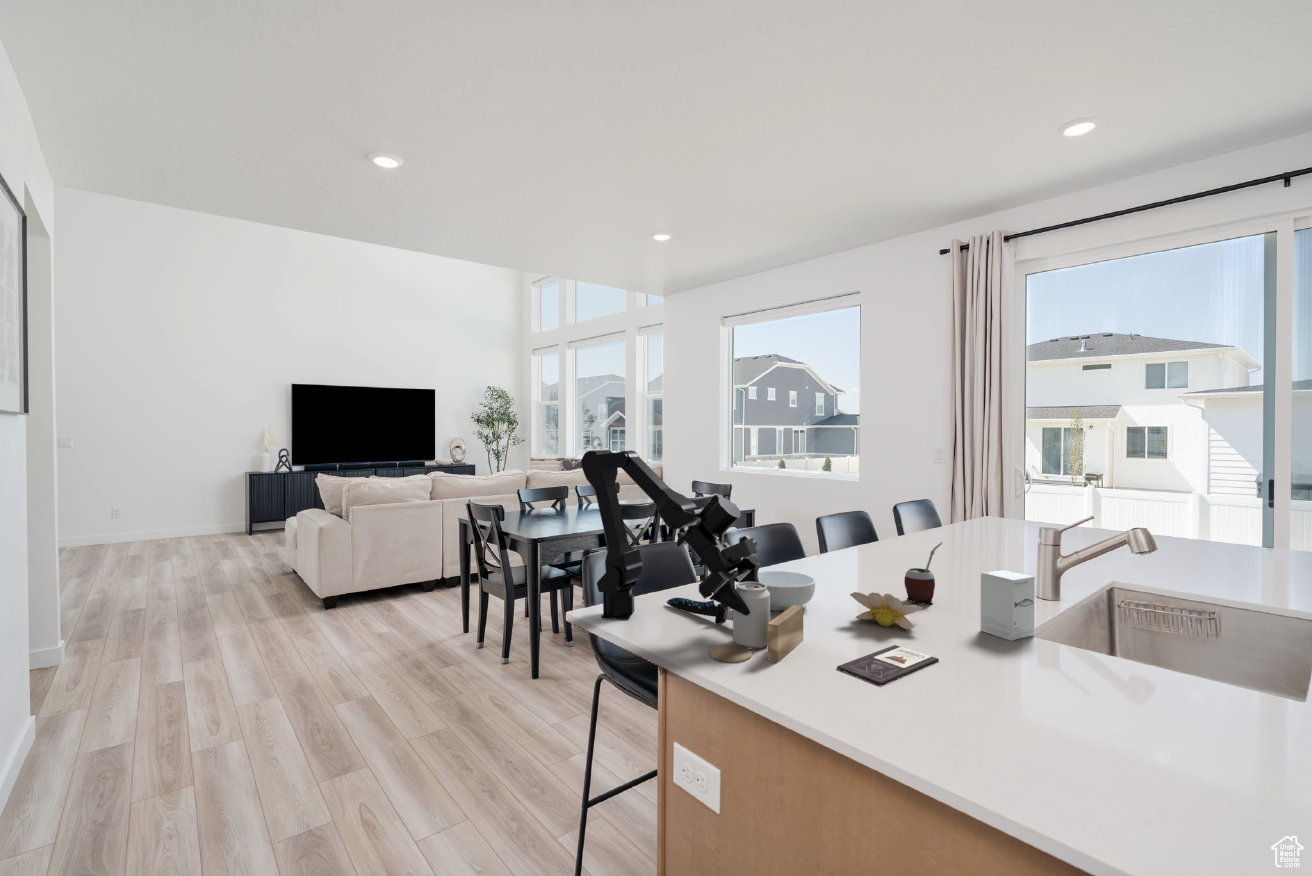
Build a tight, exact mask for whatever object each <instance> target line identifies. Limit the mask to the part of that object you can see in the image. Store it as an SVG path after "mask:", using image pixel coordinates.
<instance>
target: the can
mask: <svg viewBox="0 0 1312 876" xmlns="http://www.w3.org/2000/svg"><path fill="white" fill-rule="evenodd" d="M766 588H767V586H766V585H765V584H763V583H759V582H741V583H739V582H737V584H735V589H736V591H737V592H738V594H739V595H740V597H741V598H742V600H743V601H744V603H745V604H746V606H747V607H748V609H749V611H750V614H749V615H747V616H745V615H743V614H741V613H739V612H738V611H736V610H734V609H733V621H732V640H733V641H734V642H735V643H736V644H737V645H738V646H742V647H745V648H747V649H749V650H750V649H751V650H758V648H759V649H762V648H765V647H766V646H768V623H769V622H770V621H771V609H770V593H769V591H768V590H767V589H766Z"/></svg>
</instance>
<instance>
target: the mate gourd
mask: <svg viewBox="0 0 1312 876" xmlns="http://www.w3.org/2000/svg"><path fill="white" fill-rule="evenodd" d="M942 544H943V542H940V543H938V544H937V545H936V546H935V547H934V548H932V550H930V552H929V558H928V562H927V564H926V567H925V568H922V567H921V568H920V567H919V568H918V567H914V568H912V567H911V568H909V569H908V570H907V571H906V572H905V576H904V587H905V588H904V589H905V590H906V595H907V597H906V600H907V601H909V602H912V605H915V606H918V605H919V603H920V604H922V605H923V604H924V605H927V606H928V605H930V606H932V605H933V603H934V602H933V598H934V594H935V587H936V581H935V580H936V579H935V575H934V573H933V572H932V571H931V570H929V568H930V564H931V562H932V559H933V556H934V555H935V551H936V550H937V549H938V548H939V547H940V546H941V545H942ZM913 601H914V602H913Z"/></svg>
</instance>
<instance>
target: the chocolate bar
mask: <svg viewBox="0 0 1312 876" xmlns="http://www.w3.org/2000/svg"><path fill="white" fill-rule="evenodd" d="M939 661H940V659H939V658H938V657H935V656H932V655H928V654H925V653H921V652H918V651H915V650H913V649H908V648H905V647H903V646H900V645H896V644H894V645H891V646H888V647H886V648H884V649H880V650H877V651H875V652H871V653H870V654H867V655H864V656H861V657H859V658H856V659H853V660H851V661H847V662H845V663H843V664H840V665H837V666H836V670H838V669H840V670H839V671H840V672H843V671H845V672H844V673H846V674H849V675H851V674H852V675H851V676H854V677H856V676H857V678H859V679H861V678H862V680H865V681H867V682H869V681H870V682H869V683H871V684H874V683H875V685H878V686H879V685H883V686H885V685H887V684H890V683H892V682H894V681H897V680H898V678H899V679H901V678H903V676H904V677H905V676H909V675H910V674H914V673H915V671H916V672H917V671H920V670H923V669H924V667H925V668H927V667H929V665H930V666H933V665H934V664H937V663H939ZM908 674H909V675H908ZM891 681H892V682H891ZM889 682H890V683H889ZM886 683H887V684H886Z"/></svg>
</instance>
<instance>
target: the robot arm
mask: <svg viewBox="0 0 1312 876" xmlns="http://www.w3.org/2000/svg"><path fill="white" fill-rule="evenodd" d="M580 465H581V469H582V471H583V474H584V477H585V479H586V480H587V482H588V483H589V484H590V485H591V486H592V488H593V489H594V493H595V496H596V502H597V504H598V505H597V506H598V509H599V515H600V519H601V522H602V523H601V524H602V527H603V533H604V536H605V540H606V541H605V542H606V545H607V552H606V556H605V559H604V560H605V561H604V567H605V573H604V574H603V575H602V576H601V577H600V579H598V581H597V582H596V587H597V590H598V592H599V593H603V594H602V596H603V597H602V599H603V600H602V606H603V607H602V608H603V609H602V610H603V612H602V615H601V617H600V618H601V619H603V620H605V619H609V620H610V619H611V620H630V618H631V616H633V614H634V612H635V595H634V594H633V592H632V591H633V589H632V588H635V587H637V583H638V580H639V579H640V577H641V575H642V574H643V567H644V563H643V561H642V557H641V551H640V549H639V548H636V549H634V548H633V547H632V546H631V544H630V543H629V540H628V535H627V532H626V527H625V522H624V518H623V513H622V511H621V505H620V502H619V496H618V492H617V488H616V480H617V477H618V473H619V471H618V469H622V470H623V471H624V472H625V473H626V474H627V475H628V476H629V478H630V479H631V480H632V481H634V483H635V484H636V485H637V486H638V487H639V488H640V489H641V490H642V491H643V493H645V495H647V497H649V499H651V501H652V502H653V503H654V505H655V507H656V511H657V514H658V515H659V516H660V518H661V520H662V521H663V522H664V524H665V525H666V527H668V528H669V529H671V530H679V529H683V528H686V527H688V528H687V529H686V530H685V531H684V532H678V533H677V540H676V546H677V547H678V548H680V547H682V546H685V545H688V547H689V548H690V549H691V550H692V552H694V555H696V557H697V558H698V559H699V561H698V563H697V564H698V565H699V566H700V567H701V568H702V567H705V568H706V569H707V570H708V571H709V572H710V573H709V574H708V575H707V576H706V577H705V578H704V579H703V580H702V581H701V582H700V583H699V584H698V592H699V594H700V595H701V596H702V598H703V599H704V600H705V599H708V598H709V600H710V601H712V600H714V602H717V603H718V604H720V603H721V604H724V605H726V606H728V608H729V609H734V610H736V611H738V612H739V613H741V614H743V615H745V616H747V615H749V614H750V611H749V609H748V607H747V606H746V604H745V603H744V601H743V600H742V598H741V597H740V595H739V594H738V592H737V591H736V584H735V583H741V582H759V580H758V572H759V569H760V564H761V563H762V562H761V561H760V560H759V558H757V557H756V555H754V554H757V553H758V549H757V545H758V542H757V540H755V539H754V537H751V535H749V534H746V535H744V536H741V537H739V538H738V539H739V540H738V543H735V544H733V545H730V544H729V543H728V542H727V541H725V542H721V541H720V539H719V538H718V537H717V536H716V535H718V536H719V535H721V536H722V535H725V533H726V532H727V531H728V530H729V529H730V528H731V527H732V526H733V525H734V524H736V522H737V520H739V519H740V518H741V515H742V514H741V513H742V512H741V510H740V508H739V507H738V506H737V504H736V503H734V502H732V501H731V500H730V499H727V497H723V495H722V494H721V493H719V494H718V493H717V494H714V495H713V496H712V498H711V499H710V501H709V502H708V503H707V504H706V505H705V506H704V507H701V506H697V505H696V503H694V501H692V500H691V499H689V498H688V497H686V496H685V495H683V494H682V493H679V492H678V491H675V490H673V489H672V488H671V487H670V486H669V485H667V484H666V482H665V481H664V480H663V479H662V478H661V477H660V476H659V475H658V474H657V473H656V472H655V471H654V470H653V469H652V468H651V467H650V466H649V465H648V464H647V463H646V462H645V461H644V460H643V459H642V458H641V457H640V454H639V453H638V452H637V451H635V450H621V451H619V452H618V451H617V452H612V451H611V450H608V449H599V450H597V449H596V450H593V449H592V450H587V451H586V452H585V453H584V454H583V455H582V458H581V460H580ZM697 521H699V522H698V523H697V524H695V523H696V522H697Z"/></svg>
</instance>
